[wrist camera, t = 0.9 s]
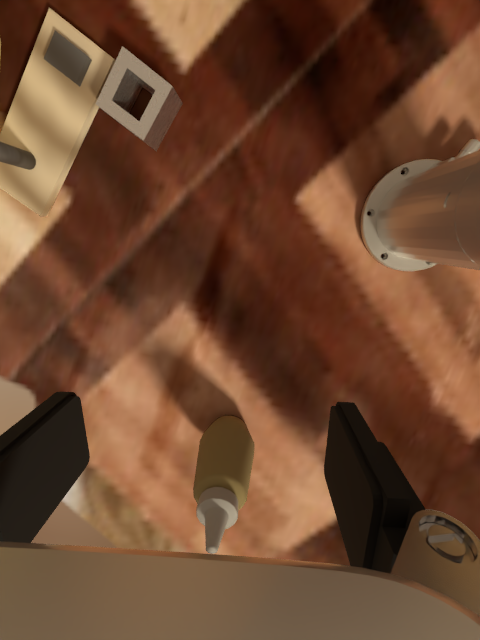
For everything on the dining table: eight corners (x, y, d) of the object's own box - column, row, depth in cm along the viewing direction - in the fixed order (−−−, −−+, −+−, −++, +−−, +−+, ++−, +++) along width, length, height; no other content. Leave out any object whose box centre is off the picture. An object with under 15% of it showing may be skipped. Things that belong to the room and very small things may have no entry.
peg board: (56, 15, 32) (10, -35, 26) (119, 65, 33) (88, 27, 27) (-8, 178, 37) (-59, 167, 31) (47, 217, 38) (8, 213, 32)
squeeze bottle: (209, 403, 44) (177, 509, 27) (260, 414, 44) (261, 528, 27) (200, 445, 47) (166, 568, 30) (249, 456, 47) (243, 585, 30)
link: (138, 68, 33) (122, 46, 29) (182, 103, 33) (172, 86, 30) (113, 118, 34) (95, 103, 30) (156, 151, 35) (143, 140, 31)
